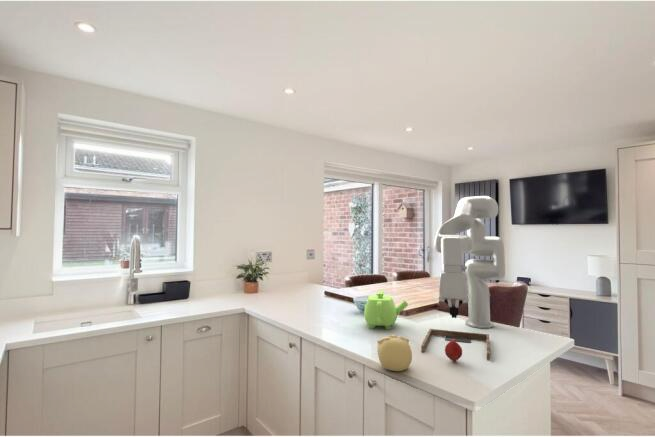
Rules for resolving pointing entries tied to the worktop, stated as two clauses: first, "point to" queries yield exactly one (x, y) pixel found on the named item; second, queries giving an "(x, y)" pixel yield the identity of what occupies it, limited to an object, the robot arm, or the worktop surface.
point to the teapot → (382, 310)
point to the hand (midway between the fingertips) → (454, 316)
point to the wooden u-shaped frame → (456, 338)
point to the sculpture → (394, 353)
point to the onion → (453, 350)
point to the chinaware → (361, 302)
